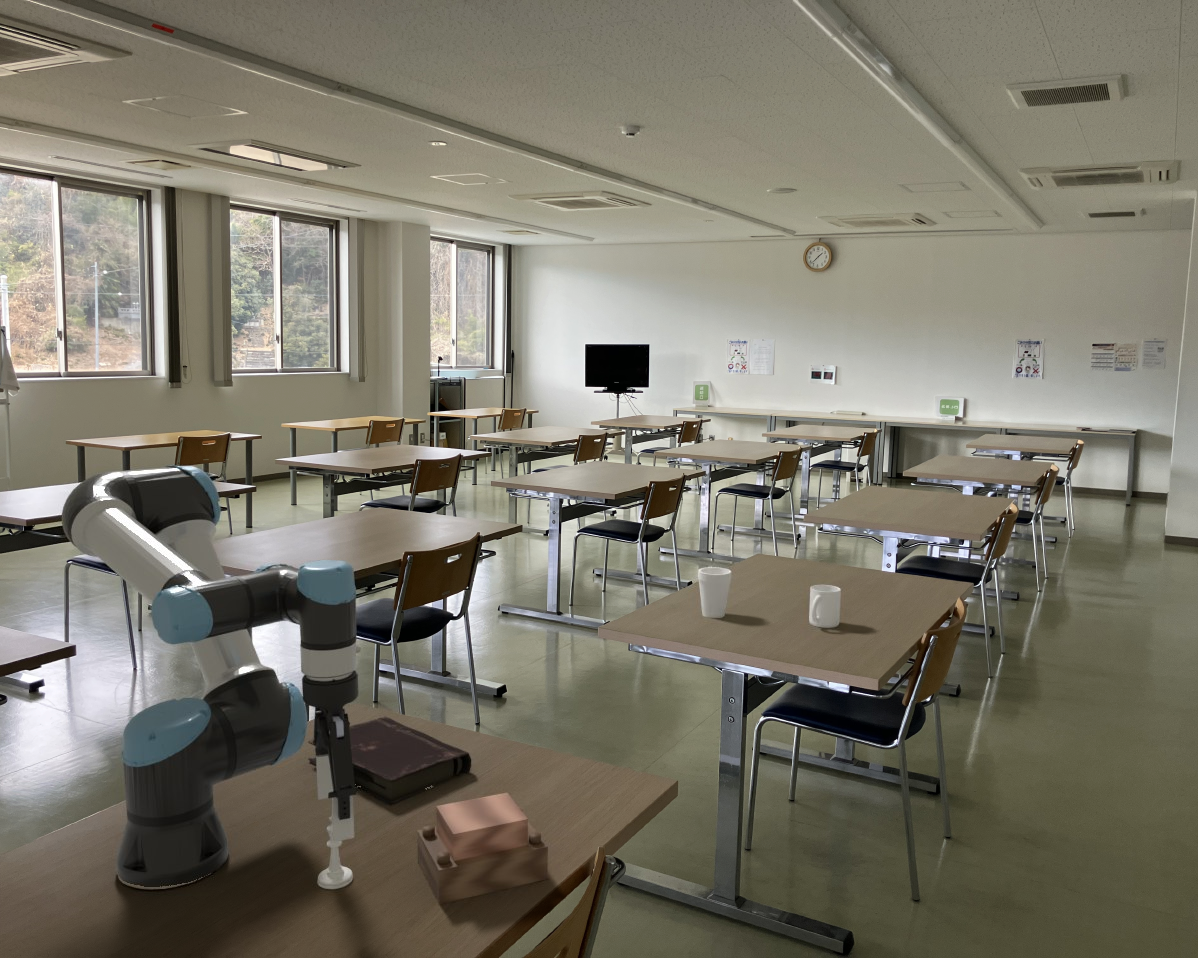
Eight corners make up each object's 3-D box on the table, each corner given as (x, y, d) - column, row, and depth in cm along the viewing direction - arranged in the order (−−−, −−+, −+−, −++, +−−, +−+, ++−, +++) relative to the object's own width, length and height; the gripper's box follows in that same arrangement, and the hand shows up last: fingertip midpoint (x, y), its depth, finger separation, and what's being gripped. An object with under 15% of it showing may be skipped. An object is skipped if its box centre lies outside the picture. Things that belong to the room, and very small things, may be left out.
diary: (388, 737, 190) (388, 713, 190) (471, 775, 174) (471, 749, 173) (304, 765, 176) (303, 739, 176) (385, 810, 160) (385, 781, 159)
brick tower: (439, 904, 132) (438, 842, 131) (417, 861, 143) (416, 804, 142) (547, 878, 139) (547, 820, 138) (519, 839, 150) (519, 785, 149)
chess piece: (339, 866, 142) (337, 802, 140) (360, 878, 139) (358, 813, 137) (310, 880, 138) (308, 814, 137) (331, 893, 135) (329, 826, 133)
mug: (825, 633, 261) (827, 596, 260) (797, 627, 266) (799, 591, 265) (844, 623, 270) (845, 587, 269) (816, 618, 275) (818, 583, 274)
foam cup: (695, 618, 274) (697, 573, 272) (698, 609, 283) (699, 566, 281) (729, 620, 272) (730, 575, 270) (730, 611, 281) (731, 568, 279)
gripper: (375, 697, 124) (380, 851, 127) (341, 644, 147) (346, 777, 149) (315, 705, 121) (321, 864, 124) (290, 650, 144) (296, 786, 146)
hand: (335, 817), depth 137 cm, fingers open, 13 cm apart
